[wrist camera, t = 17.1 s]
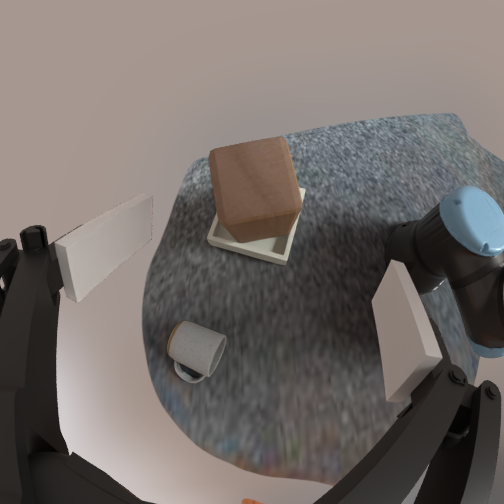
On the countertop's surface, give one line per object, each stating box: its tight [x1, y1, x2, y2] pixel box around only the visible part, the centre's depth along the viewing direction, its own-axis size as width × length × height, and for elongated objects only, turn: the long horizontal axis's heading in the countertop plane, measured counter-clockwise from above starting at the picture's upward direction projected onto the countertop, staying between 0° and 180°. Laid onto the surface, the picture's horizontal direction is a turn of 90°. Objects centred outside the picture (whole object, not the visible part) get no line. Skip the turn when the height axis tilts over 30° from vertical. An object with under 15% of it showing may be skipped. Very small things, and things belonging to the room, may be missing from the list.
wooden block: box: [209, 137, 302, 243], centre depth 41 cm, size 10×10×20 cm
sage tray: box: [207, 188, 306, 266], centre depth 51 cm, size 15×15×4 cm
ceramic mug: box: [167, 321, 226, 383], centre depth 42 cm, size 11×8×8 cm
